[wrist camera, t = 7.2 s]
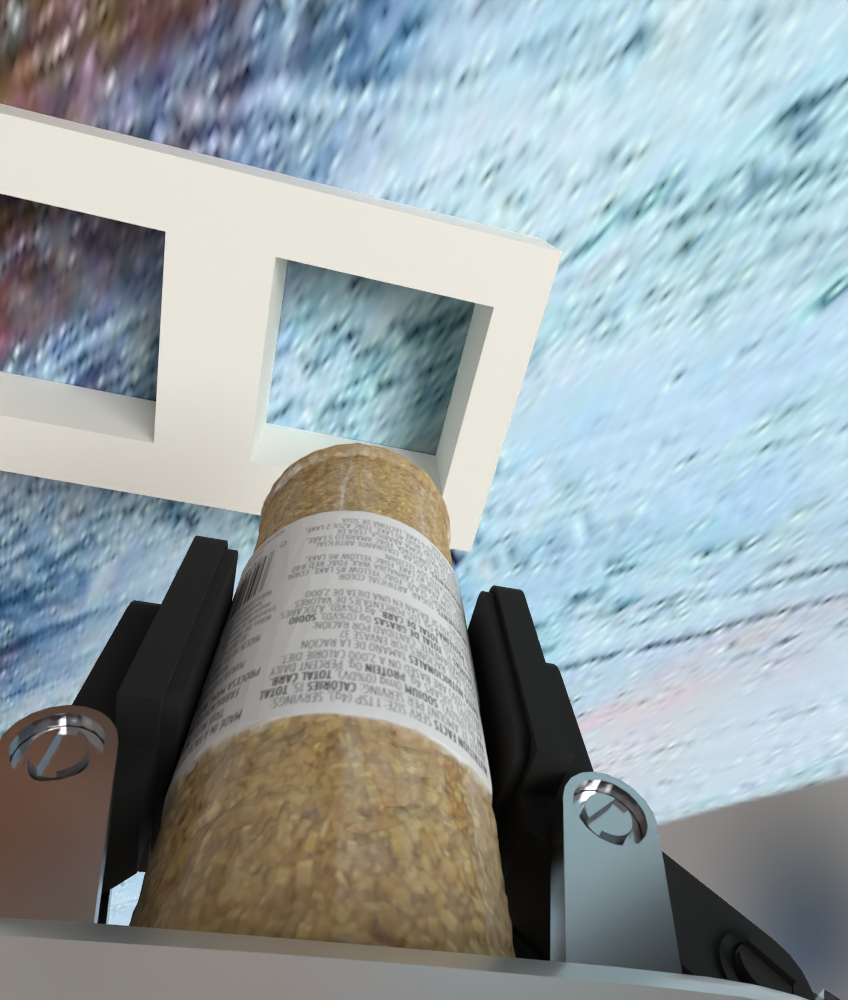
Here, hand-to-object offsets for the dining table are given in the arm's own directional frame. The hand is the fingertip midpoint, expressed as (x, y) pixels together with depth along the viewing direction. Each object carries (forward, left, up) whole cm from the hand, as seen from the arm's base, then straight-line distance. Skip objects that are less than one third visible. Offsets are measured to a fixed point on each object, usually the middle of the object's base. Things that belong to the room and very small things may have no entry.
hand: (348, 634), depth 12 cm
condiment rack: (0, -6, -18) cm, 19 cm away
